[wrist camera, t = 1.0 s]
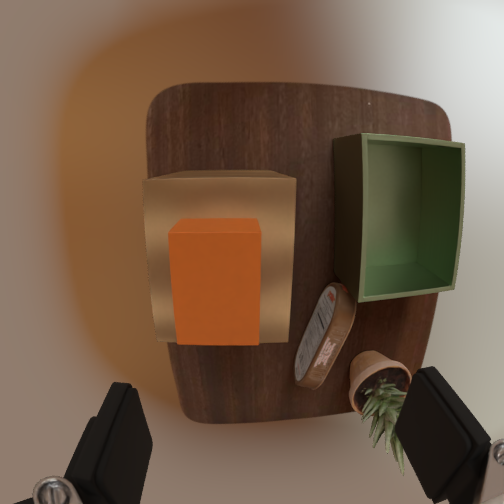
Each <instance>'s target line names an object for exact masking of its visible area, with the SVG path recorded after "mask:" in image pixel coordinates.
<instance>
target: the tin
mask: <svg viewBox="0 0 504 504" xmlns="http://www.w3.org/2000/svg"><path fill="white" fill-rule="evenodd" d="M356 306H357V300H356V299H355V298H354V297H353V295H352V294H351V293H350V292H349V290H348V289H347V288H346V287H345V285H343V284H340V283H335V282H333V283H330V284H328V285H327V286H326V287H325V289H324V290H323V292H322V293H321V295H320V297H319V299H318V302H317V304H316V306H315V309H314V311H313V313H312V315H311V318H310V320H309V322H308V324H307V327H306V329H305V331H304V333H303V336H302V338H301V340H300V343H299V345H298V348H297V351H296V355H295V359H294V365H293V371H294V380H295V384H296V385H298V386H302V387H306V388H310V389H312V390H315V389H317V388H318V387H319V386H321V384H322V383H323V381H324V380H325V378H326V376H327V374H328V373H329V371H330V369H331V367H332V365H333V363H334V361H335V359H336V358H337V356H338V354H339V352H340V350H341V348H342V346H343V344H344V342H345V340H346V338H347V336H348V334H349V332H350V330H351V328H352V325H353V321H354V318H355V313H356Z"/></svg>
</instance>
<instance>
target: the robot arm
mask: <svg viewBox="0 0 504 504" xmlns="http://www.w3.org/2000/svg"><path fill="white" fill-rule="evenodd" d="M395 433H396V435H397V437H398V439H399V441H400V443H401V445H402V447H403V449H404V451H405V453H406V455H407V457H408V459H409V461H410V463H411V465H412V467H413V469H414V471H415V473H416V475H417V477H418V479H419V481H420V483H421V485H422V487H423V490H424V492H425V494H426V496H427V497H428V498H429V499H432V501H433V503H434V504H436V503H439V502H441V501H444V500H446V499H448V501H449V504H504V439H499V440H497V441H495V442H494V443H493V444H491V443H490V440H491V438H490V437H489V435H488V434H487V433H486V431H485V430H484V429H483V427H482V426H481V425H480V423H479V422H478V421H477V419H476V418H475V417H474V415H473V414H472V413H471V412H470V410H469V409H468V408H467V406H466V405H465V404H464V403H463V401H462V400H461V399H460V398H459V396H458V395H457V394H456V392H455V391H454V390H453V389H452V388H451V386H450V385H449V384H448V383H447V381H446V380H445V379H444V378H443V376H442V375H441V374H440V373H439V372H438V370H437V369H436V368H435V367H433V366H431V367H426V368H421V369H418V370H417V372H416V374H414V375H413V377H412V380H411V383H410V386H409V389H408V391H407V394H406V397H405V400H404V403H403V405H402V408H401V411H400V413H399V416H398V418H397V421H396V423H395ZM152 443H153V442H152V438H151V435H150V432H149V428H148V425H147V422H146V419H145V415H144V413H143V409H142V405H141V402H140V398H139V395H138V391H137V389H136V388H132V385H131V384H129V383H119V382H114V383H113V384H112V385H111V387H110V389H109V391H108V393H107V396H106V398H105V400H104V402H103V404H102V406H101V408H100V410H99V413H98V415H97V417H92V418H90V420H89V422H88V424H87V426H86V428H85V430H84V432H83V434H82V437H81V439H80V441H79V443H78V445H77V448H76V450H75V452H74V454H73V457H72V459H71V461H70V463H69V466H68V468H67V470H66V473H65V475H64V477H63V478H62V477H60V476H49V477H45V478H43V479H41V480H40V481H39V482H38V483H37V484H36V485H35V487H34V489H33V494H32V495H33V497H32V498H29V499H26V500H23V501H20V502H17V503H14V504H140V500H141V495H142V491H143V486H144V481H145V478H146V473H147V469H148V465H149V460H150V456H151V452H152V446H153V444H152Z"/></svg>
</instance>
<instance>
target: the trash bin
mask: <svg viewBox="0 0 504 504" xmlns="http://www.w3.org/2000/svg"><path fill="white" fill-rule="evenodd" d="M333 149H334V186H335V240H334V273H335V274H336V276H337V277H338V278H339V279H340V280H341V282H342V283H343V284H344V285H345V287H346V288H347V289H348V290H349V292H350V293H351V294H352V295H353V297H354V298H355V299H356V300H357V302H358V303H359V302H367V301H376V300H384V299H392V298H400V297H407V296H415V295H422V294H429V293H436V292H442V291H448V290H454V288H455V282H456V276H457V270H458V262H459V256H460V247H461V237H462V228H463V215H464V199H465V144H464V143H459V142H452V141H444V140H436V139H428V138H418V137H408V136H397V135H383V134H367V133H360V134H355V135H350V136H344V137H339V138H334V139H333Z"/></svg>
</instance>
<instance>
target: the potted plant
mask: <svg viewBox="0 0 504 504" xmlns="http://www.w3.org/2000/svg"><path fill="white" fill-rule="evenodd" d="M410 383H411V374H410V372H409V371H408V370H407V368H406V367H405V366H404V365H403V364H401V363H400V362H397V361H392V360H390V359H389V358H387V357H385V356H384V355H382V354H380V353H379V352H377V351H374V350H372V351H364V352H362V353H360V354H358V355H357V356H356V357H355V358H354V359H353V360H352V362H351V364H350V387H351V388H350V391H349V398H350V402H351V405H352V407H353V409H354V410H355V411H356V412H358V413H359V414H361V415H363V416H362V419H361V420H363V419H364V418H365V419H364V420H363V422H362V423H364V422H365V421H366V420H367V419H368V418H369V417H370V416H374V417H373V421H372V426H371V431H370V434H369V437H371V436H372V433H373V431H374V429H375V427H376V424H377V422H378V424H377V428H376V432H375V436H374V441H373V448H375V445H376V443H377V442H378V440H379V438H380V437H381V435H382V434H383V432H384V431H385V448H386V452H387V454H388V453H389V445H390V443H391V447H392V450H393V454H394V457H395V460H396V461H397V462H398V463H399V468H400V471H401V473H402V475H404V463H403V447H402V445H401V443H400V441H399V439H398V437H397V435H396V433H395V423H396V421H397V418H398V416H399V413H400V411H401V408H402V405H403V403H404V400H405V397H406V394H407V391H408V389H409V386H410Z"/></svg>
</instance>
